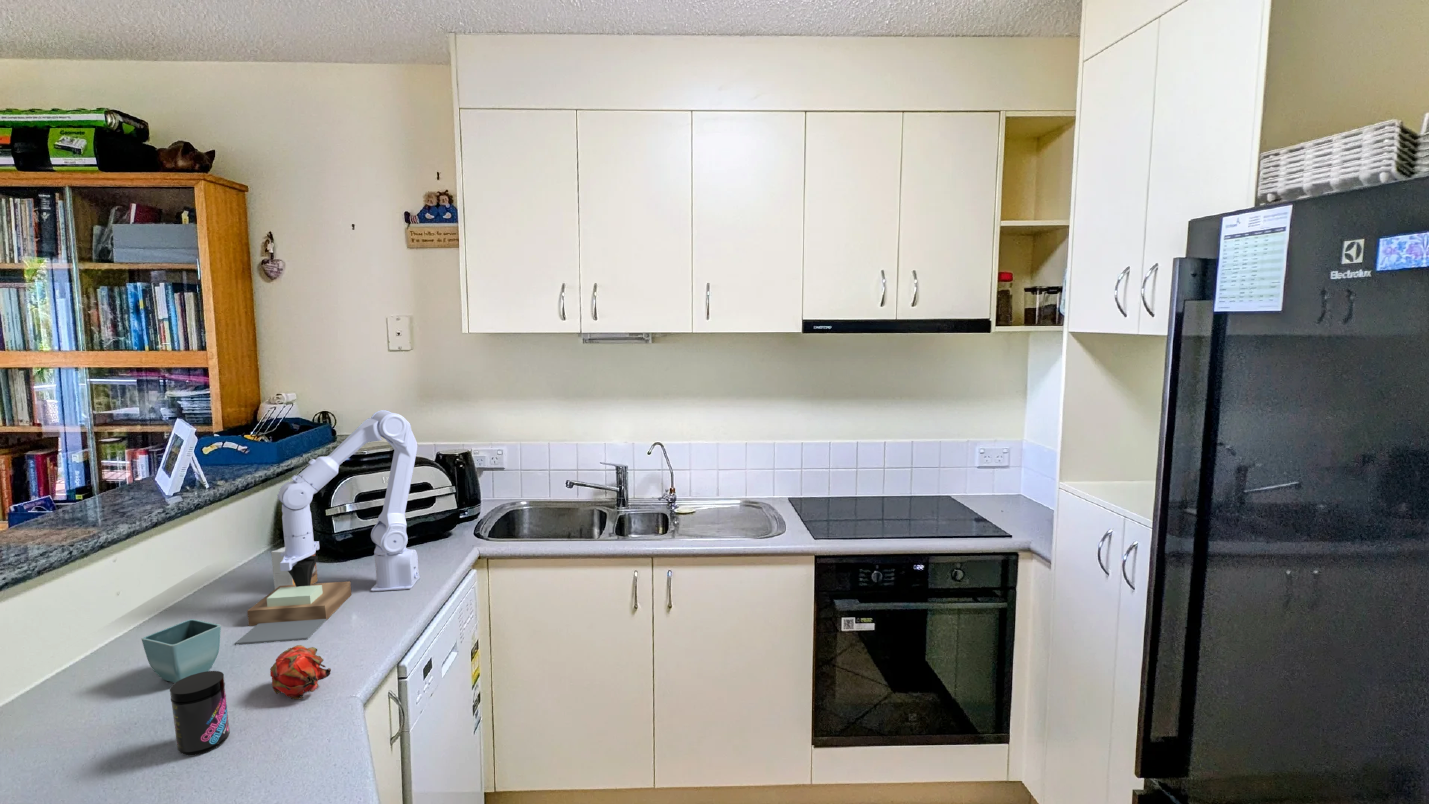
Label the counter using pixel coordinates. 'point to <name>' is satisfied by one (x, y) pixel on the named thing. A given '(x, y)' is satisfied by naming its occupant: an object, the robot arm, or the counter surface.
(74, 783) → the counter surface
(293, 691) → the dragon fruit
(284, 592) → the sage green block
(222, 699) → the supplement container
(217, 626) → the flower pot
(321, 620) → the mat
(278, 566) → the small box
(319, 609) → the brown flat block
